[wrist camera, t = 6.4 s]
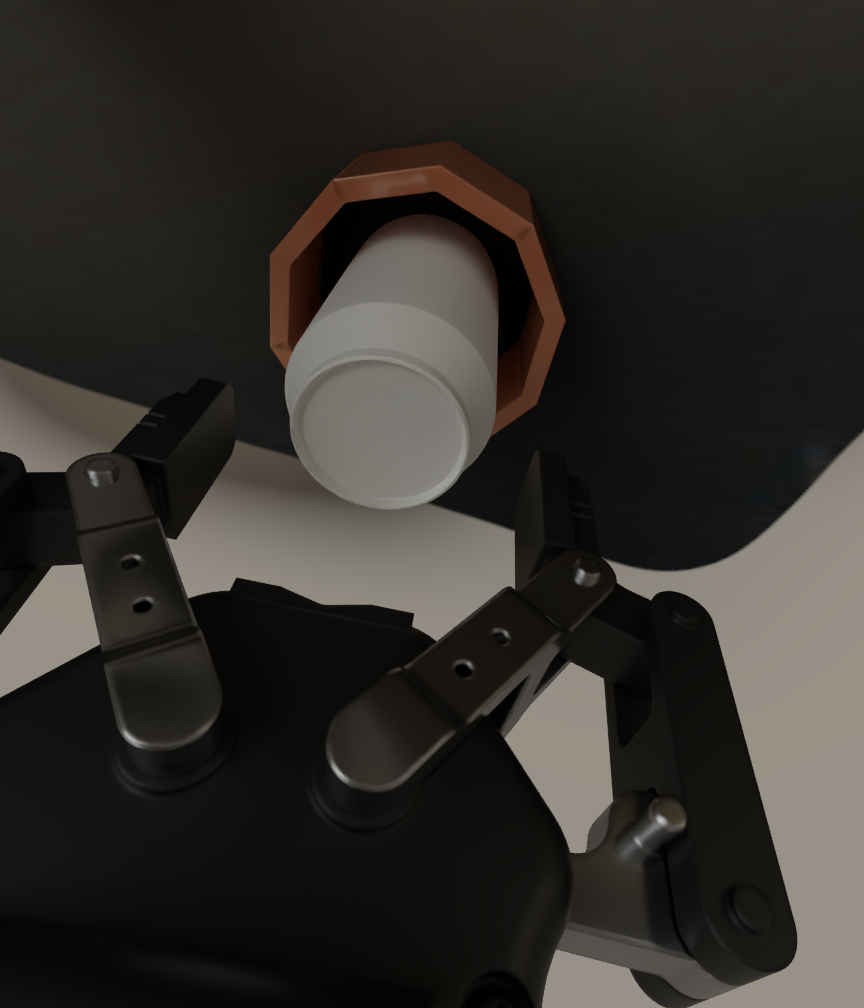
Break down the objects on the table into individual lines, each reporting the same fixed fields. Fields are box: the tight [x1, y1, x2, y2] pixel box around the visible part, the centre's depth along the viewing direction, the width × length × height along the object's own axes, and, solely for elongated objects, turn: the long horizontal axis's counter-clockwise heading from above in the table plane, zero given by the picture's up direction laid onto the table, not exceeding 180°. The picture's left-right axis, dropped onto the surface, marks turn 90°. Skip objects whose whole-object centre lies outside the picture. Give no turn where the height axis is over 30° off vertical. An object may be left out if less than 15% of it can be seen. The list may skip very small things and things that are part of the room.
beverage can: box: [285, 214, 498, 510], centre depth 20 cm, size 6×6×12 cm
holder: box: [270, 140, 566, 437], centre depth 23 cm, size 10×11×5 cm
